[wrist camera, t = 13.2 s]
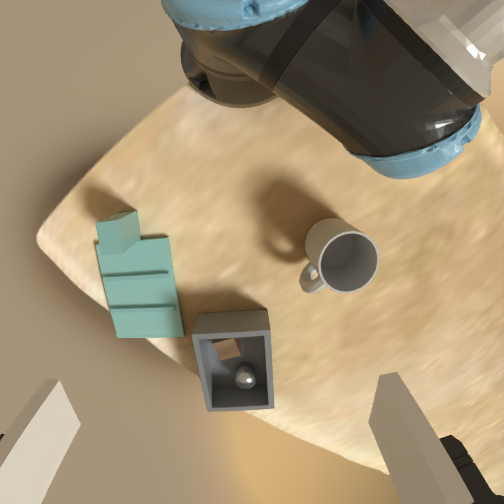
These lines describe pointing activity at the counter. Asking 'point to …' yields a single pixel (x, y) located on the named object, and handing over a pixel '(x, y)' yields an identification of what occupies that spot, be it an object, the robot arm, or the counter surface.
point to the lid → (138, 279)
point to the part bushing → (245, 375)
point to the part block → (227, 347)
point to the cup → (338, 258)
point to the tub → (234, 359)
